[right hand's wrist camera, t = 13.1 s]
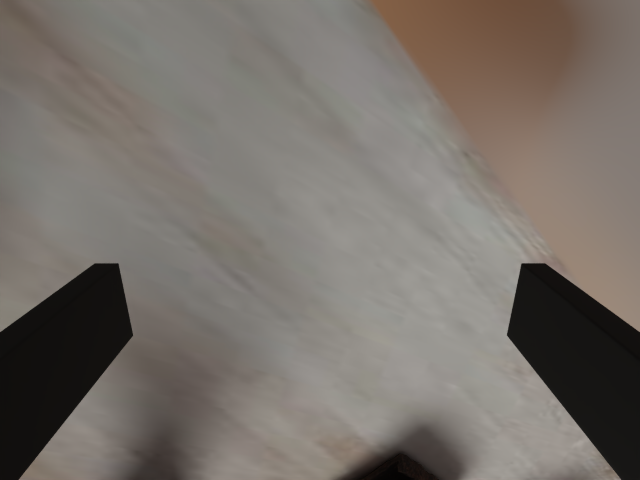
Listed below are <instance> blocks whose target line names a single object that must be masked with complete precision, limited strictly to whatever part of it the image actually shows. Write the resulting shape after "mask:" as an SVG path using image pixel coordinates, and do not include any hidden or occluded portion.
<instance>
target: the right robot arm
mask: <svg viewBox="0 0 640 480" xmlns="http://www.w3.org/2000/svg"><path fill="white" fill-rule="evenodd" d="M132 336H133V333H132V328H131V323H130V318H129V313H128V308H127V303H126V298H125V293H124V289H123V284H122V279H121V274H120V269H119V264H118V263H95V264H93V265H92V266H91V267H89V268H88V269H87V270H85V271H84V272H82V273H81V274H80V275H78V276H77V277H76V278H74V279H73V280H71V281H70V282H69V283H67V284H66V285H65V286H63V287H62V288H60V289H59V290H58V291H56V292H55V293H54V294H52V295H51V296H49V297H48V298H47V299H45V300H44V301H43V302H41V303H40V304H38V305H37V306H36V307H34V308H33V309H32V310H30V311H29V312H27V313H26V314H25V315H23V316H22V317H21V318H19V319H18V320H16V321H15V322H14V323H12V324H11V325H10V326H8V327H7V328H5V329H4V330H3V331H1V332H0V480H19V478H20V477H21V476H22V475H23V473H24V472H25V471H26V470H27V468H28V467H29V466H30V465H31V463H32V462H33V461H34V460H35V458H36V457H37V456H38V455H39V453H40V452H41V451H42V450H43V448H44V447H45V446H46V444H47V443H48V442H49V441H50V439H51V438H52V437H53V436H54V434H55V433H56V432H57V431H58V429H59V428H60V427H61V426H62V424H63V423H64V422H65V421H66V419H67V418H68V417H69V415H70V414H71V413H72V412H73V410H74V409H75V408H76V407H77V405H78V404H79V403H80V402H81V400H82V399H83V398H84V397H85V395H86V394H87V393H88V392H89V390H90V389H91V388H92V386H93V385H94V384H95V383H96V381H97V380H98V379H99V378H100V376H101V375H102V374H103V373H104V371H105V370H106V369H107V368H108V366H109V365H110V364H111V363H112V361H113V360H114V359H115V357H116V356H117V355H118V354H119V352H120V351H121V350H122V349H123V347H124V346H125V345H126V344H127V342H128V341H129V340H130V339H131V337H132ZM507 336H508V337H509V339H510V340H511V341H512V342H513V344H514V345H515V346H516V347H517V349H518V350H519V351H520V352H521V354H522V355H523V356H524V357H525V359H526V360H527V361H528V363H529V364H530V365H531V366H532V368H533V369H534V370H535V371H536V373H537V374H538V375H539V376H540V378H541V379H542V380H543V381H544V383H545V384H546V385H547V386H548V388H549V389H550V390H551V392H552V393H553V394H554V395H555V397H556V398H557V399H558V400H559V402H560V403H561V404H562V405H563V407H564V408H565V409H566V410H567V412H568V413H569V414H570V415H571V417H572V418H573V419H574V421H575V422H576V423H577V424H578V426H579V427H580V428H581V429H582V431H583V432H584V433H585V434H586V436H587V437H588V438H589V439H590V441H591V442H592V443H593V444H594V446H595V447H596V448H597V450H598V451H599V452H600V453H601V455H602V456H603V457H604V458H605V460H606V461H607V462H608V463H609V465H610V466H611V467H612V468H613V470H614V471H615V472H616V473H617V475H618V476H619V477H620V478H621V480H640V332H639V331H637V330H636V329H634V328H633V327H632V326H630V325H629V324H628V323H626V322H625V321H623V320H622V319H621V318H619V317H618V316H617V315H615V314H614V313H613V312H611V311H610V310H608V309H607V308H606V307H604V306H603V305H602V304H600V303H599V302H597V301H596V300H595V299H593V298H592V297H591V296H589V295H588V294H586V293H585V292H584V291H582V290H581V289H580V288H578V287H577V286H575V285H574V284H573V283H571V282H570V281H569V280H567V279H566V278H564V277H563V276H562V275H560V274H559V273H558V272H556V271H555V270H553V269H552V268H551V267H549V266H548V265H547V264H545V263H522V264H521V269H520V274H519V279H518V284H517V289H516V293H515V298H514V303H513V308H512V313H511V318H510V323H509V328H508V333H507Z"/></svg>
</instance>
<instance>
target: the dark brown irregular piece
mask: <svg viewBox="0 0 640 480" xmlns="http://www.w3.org/2000/svg"><path fill="white" fill-rule="evenodd" d="M361 480H438V479H437V478H436V477H435V476H434V475H433V474H429V473H428V472H427V471H425V470H424V468H423V467H422V466H421V464H419V463H417V462H415V461H413V460H411V459H410V458H408V457H407V456H406V455H404V454H399V455H398V456H397V457H395V458H393V459H392V460H389V461H388V462H385V463H384V464H383V465H382V466H380V467H379V468H377V469H376V470H375V471H374V472H372V473H371V474H369V475H368V476H366V477H365V478H363V479H361Z"/></svg>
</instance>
